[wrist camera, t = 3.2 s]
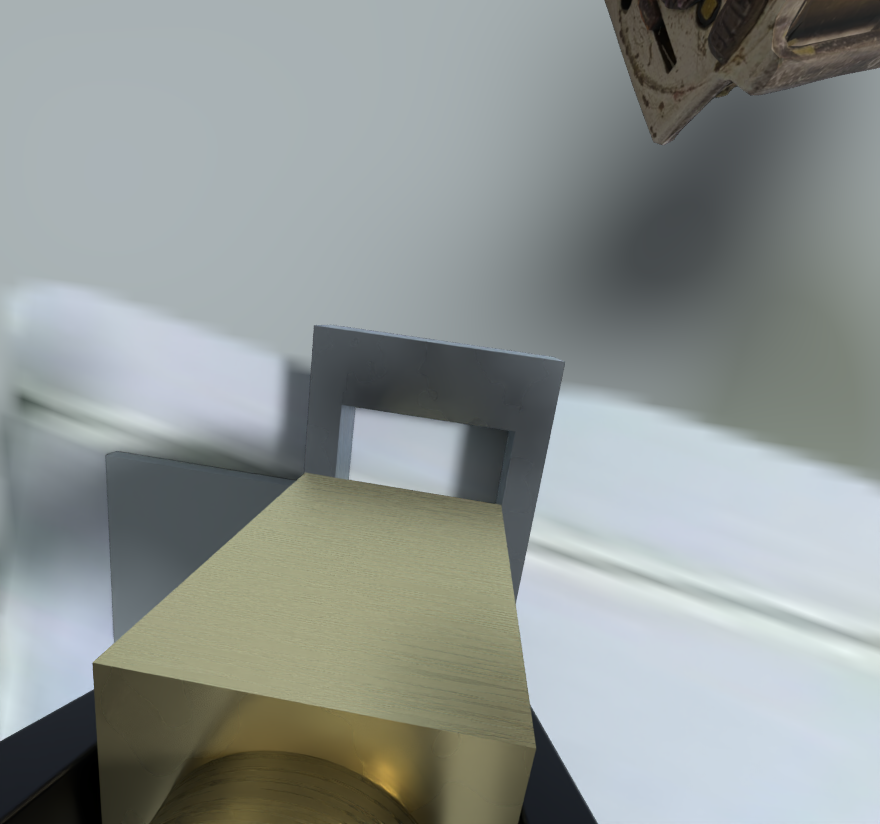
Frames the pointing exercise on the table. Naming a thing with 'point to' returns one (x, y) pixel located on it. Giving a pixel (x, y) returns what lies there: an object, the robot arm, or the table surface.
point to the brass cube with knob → (326, 672)
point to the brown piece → (736, 49)
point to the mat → (172, 524)
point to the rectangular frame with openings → (436, 406)
